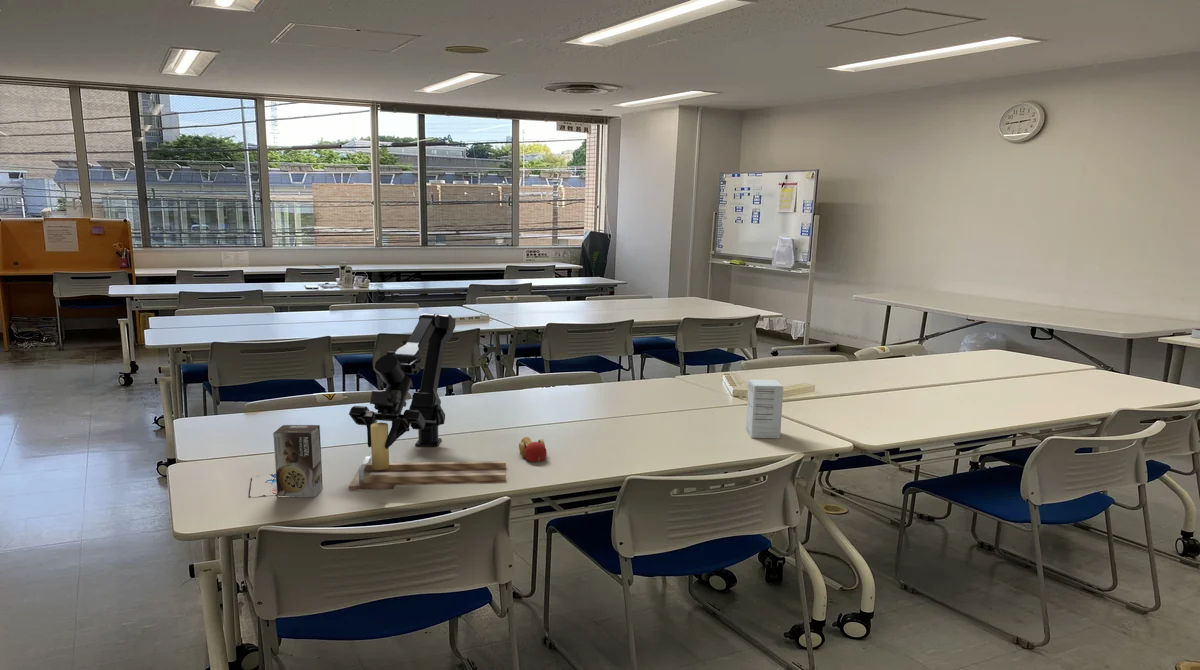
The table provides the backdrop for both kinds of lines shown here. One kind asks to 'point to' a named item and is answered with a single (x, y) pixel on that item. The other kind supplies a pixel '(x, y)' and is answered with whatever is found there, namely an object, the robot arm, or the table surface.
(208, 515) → the table surface
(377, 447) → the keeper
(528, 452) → the kendama
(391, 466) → the track
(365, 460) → the stop
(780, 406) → the supplement box
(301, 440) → the coffee box
